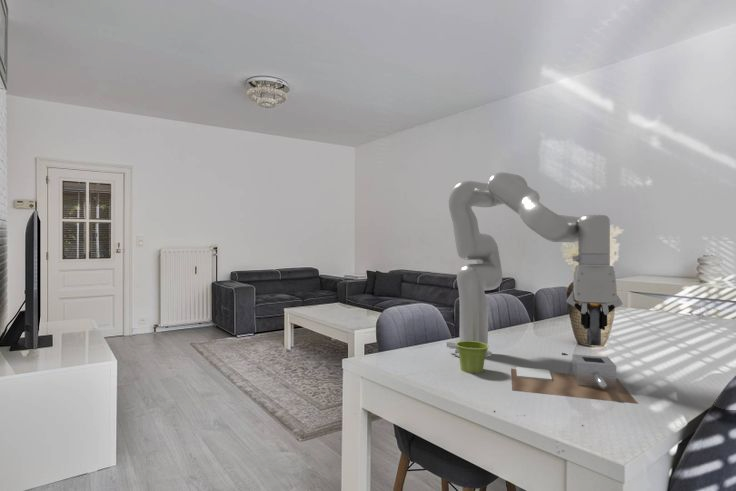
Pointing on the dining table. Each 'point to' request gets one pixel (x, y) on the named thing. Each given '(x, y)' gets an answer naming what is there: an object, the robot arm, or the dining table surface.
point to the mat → (533, 373)
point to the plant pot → (472, 355)
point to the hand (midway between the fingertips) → (593, 327)
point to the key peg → (594, 324)
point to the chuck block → (594, 371)
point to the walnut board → (570, 388)
